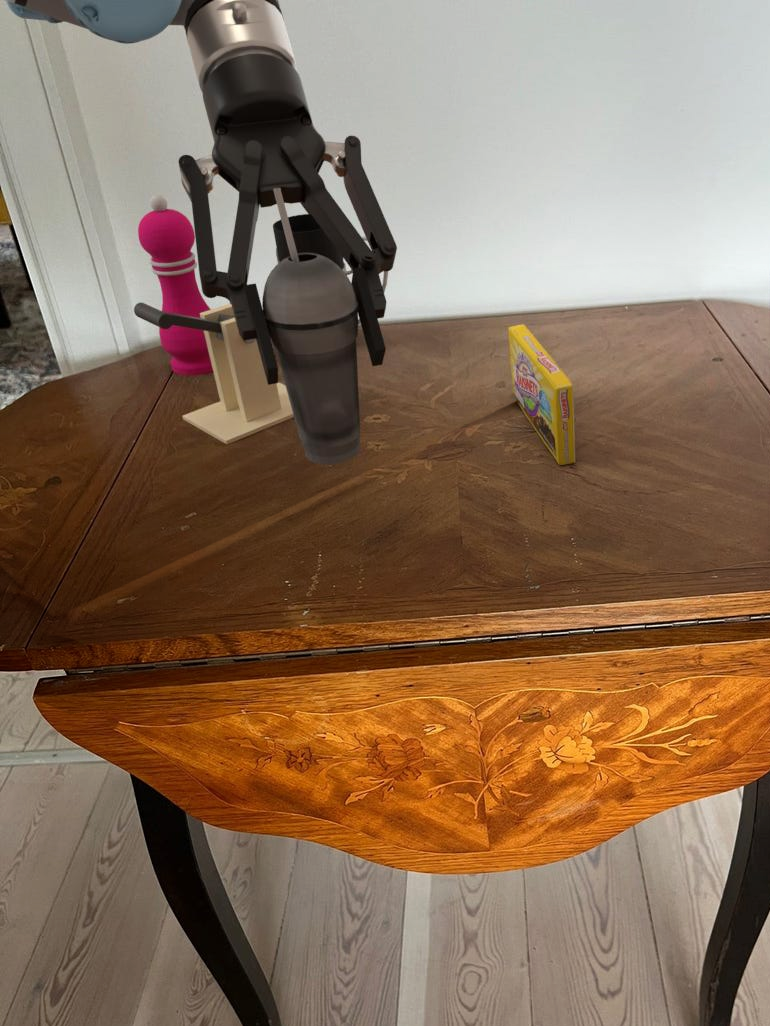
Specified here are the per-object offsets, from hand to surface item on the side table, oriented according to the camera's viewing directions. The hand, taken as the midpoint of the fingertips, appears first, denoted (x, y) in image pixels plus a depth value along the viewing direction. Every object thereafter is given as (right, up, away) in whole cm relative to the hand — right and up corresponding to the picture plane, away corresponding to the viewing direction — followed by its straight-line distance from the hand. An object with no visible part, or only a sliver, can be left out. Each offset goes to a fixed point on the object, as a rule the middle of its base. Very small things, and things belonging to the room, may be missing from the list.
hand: (326, 366), depth 70 cm
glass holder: (-5, +16, +48) cm, 51 cm away
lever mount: (-13, +4, +34) cm, 37 cm away
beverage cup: (-1, -5, +8) cm, 9 cm away
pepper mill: (-23, +12, +45) cm, 52 cm away
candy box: (+18, +2, +29) cm, 34 cm away
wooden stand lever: (-17, +10, +25) cm, 32 cm away
